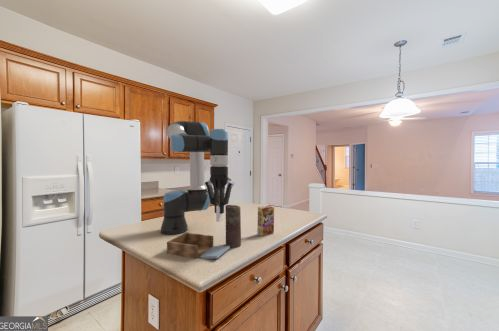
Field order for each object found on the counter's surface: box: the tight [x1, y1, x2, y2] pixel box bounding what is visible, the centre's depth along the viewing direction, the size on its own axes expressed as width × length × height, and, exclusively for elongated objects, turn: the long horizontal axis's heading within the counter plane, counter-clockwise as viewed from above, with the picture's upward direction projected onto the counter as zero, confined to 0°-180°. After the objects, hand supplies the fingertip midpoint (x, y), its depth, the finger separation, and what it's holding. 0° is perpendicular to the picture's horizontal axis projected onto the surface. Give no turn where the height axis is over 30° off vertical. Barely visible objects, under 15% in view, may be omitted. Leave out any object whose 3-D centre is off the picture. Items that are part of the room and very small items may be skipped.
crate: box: [166, 231, 214, 259], centre depth 104 cm, size 15×14×6 cm
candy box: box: [256, 205, 275, 237], centre depth 129 cm, size 9×4×15 cm, turn 123°
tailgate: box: [197, 245, 231, 260], centre depth 100 cm, size 1×12×9 cm
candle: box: [224, 204, 242, 249], centre depth 110 cm, size 8×7×20 cm
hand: (219, 220), depth 99 cm, fingers closed
